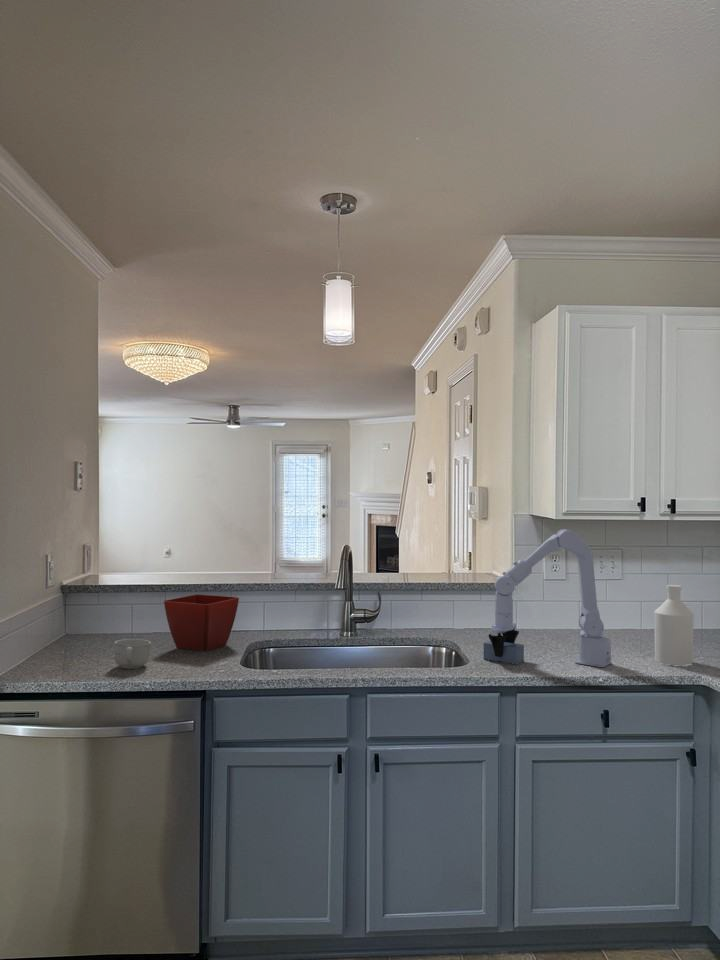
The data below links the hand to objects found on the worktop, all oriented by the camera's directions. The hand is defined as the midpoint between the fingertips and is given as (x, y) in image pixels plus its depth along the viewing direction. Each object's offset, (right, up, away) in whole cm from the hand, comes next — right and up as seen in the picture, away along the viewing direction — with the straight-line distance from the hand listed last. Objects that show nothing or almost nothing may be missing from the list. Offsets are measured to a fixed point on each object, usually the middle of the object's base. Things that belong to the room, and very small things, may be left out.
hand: (503, 654), depth 245 cm
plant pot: (-103, -2, +18) cm, 104 cm away
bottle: (+55, -3, -1) cm, 55 cm away
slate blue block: (0, -2, 0) cm, 2 cm away
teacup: (-118, -1, -13) cm, 119 cm away
